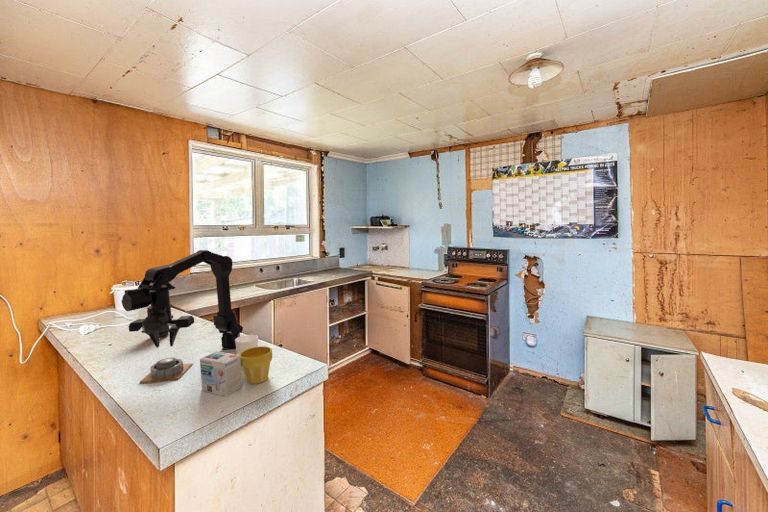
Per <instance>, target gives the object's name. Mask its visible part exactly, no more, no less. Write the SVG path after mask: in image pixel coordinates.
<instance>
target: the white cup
mask: <svg viewBox="0 0 768 512" xmlns="http://www.w3.org/2000/svg"><path fill="white" fill-rule="evenodd" d="M258 341H259V336H258V335H257V334H244V335H241V336H240V337H238V338H236V339H235V343H236V348H235V349H236V355H239V354H240V353H241V352H242V351H244V350H246V349H249V348H253V347H259V342H258ZM241 368H243V367H242V366H241Z"/></svg>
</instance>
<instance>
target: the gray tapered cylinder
mask: <svg viewBox="0 0 768 512" xmlns="http://www.w3.org/2000/svg"><path fill="white" fill-rule="evenodd" d="M176 359H177V358H176V357H168V358H167V357H166V358H163V359H159V360H158V361H156V362H155V364H156V368H157V369H166V368H170V367H173V366H175V365H177V363H176Z"/></svg>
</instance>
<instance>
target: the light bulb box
mask: <svg viewBox="0 0 768 512" xmlns="http://www.w3.org/2000/svg"><path fill="white" fill-rule="evenodd" d="M199 365H200V366H199V367H200V376H201V377H200V378H201V381H200V382H201V390H202V391H203V392H207V393H211V394H216V395H220V396H222V397H227V396H229V395H231V394H232V392H233V393H234V392H236V391H237V390H239V389H240V388H242V387H243V377H242V367H241V361H240V355H237V353H236V354H234V353H228V352H222V351H217V350H216V351H214V352H211V353H210V354H208V355H205V356H203V357H200V359H199Z"/></svg>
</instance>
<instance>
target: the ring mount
mask: <svg viewBox="0 0 768 512" xmlns="http://www.w3.org/2000/svg"><path fill="white" fill-rule="evenodd" d="M183 362H184V361H183V359H181V358H176V363H177V365H175V366H173V367H170V368H166V369H157V368H156V363H154V364H153V365H151V366H150V368H149V369H150V372H149V373H148V374H147V375H146V376H144V378H142V379H141V380H140V381H139V384H148V382H150V383H159V381H160V382H169V381H168V380H170V381H176V380H178V379H179V380H180V379H181V378H182V377H183V376H184V375H185V373H187V371H188V370H190V368H191V367H192V366H193V363H192V362H191V363H190V362H189V363H183ZM181 376H182V377H181Z"/></svg>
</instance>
